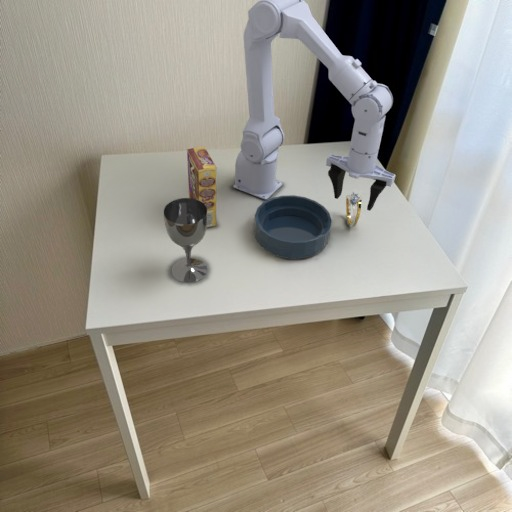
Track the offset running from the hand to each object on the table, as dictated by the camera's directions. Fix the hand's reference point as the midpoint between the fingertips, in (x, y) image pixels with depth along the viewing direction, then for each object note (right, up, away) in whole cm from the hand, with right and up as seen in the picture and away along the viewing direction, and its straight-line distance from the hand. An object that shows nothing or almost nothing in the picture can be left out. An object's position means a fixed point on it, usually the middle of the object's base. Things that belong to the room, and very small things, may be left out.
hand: (353, 202), depth 114 cm
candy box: (-33, -3, +4) cm, 34 cm away
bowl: (-14, -7, 0) cm, 15 cm away
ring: (0, -5, +4) cm, 6 cm away
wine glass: (-35, -15, -9) cm, 39 cm away
